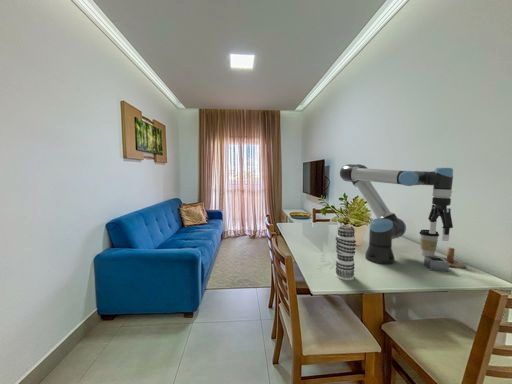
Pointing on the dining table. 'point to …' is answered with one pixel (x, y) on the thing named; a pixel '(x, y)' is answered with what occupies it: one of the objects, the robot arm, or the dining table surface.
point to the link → (436, 263)
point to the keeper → (451, 259)
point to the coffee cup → (428, 242)
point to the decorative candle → (345, 252)
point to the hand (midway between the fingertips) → (438, 237)
